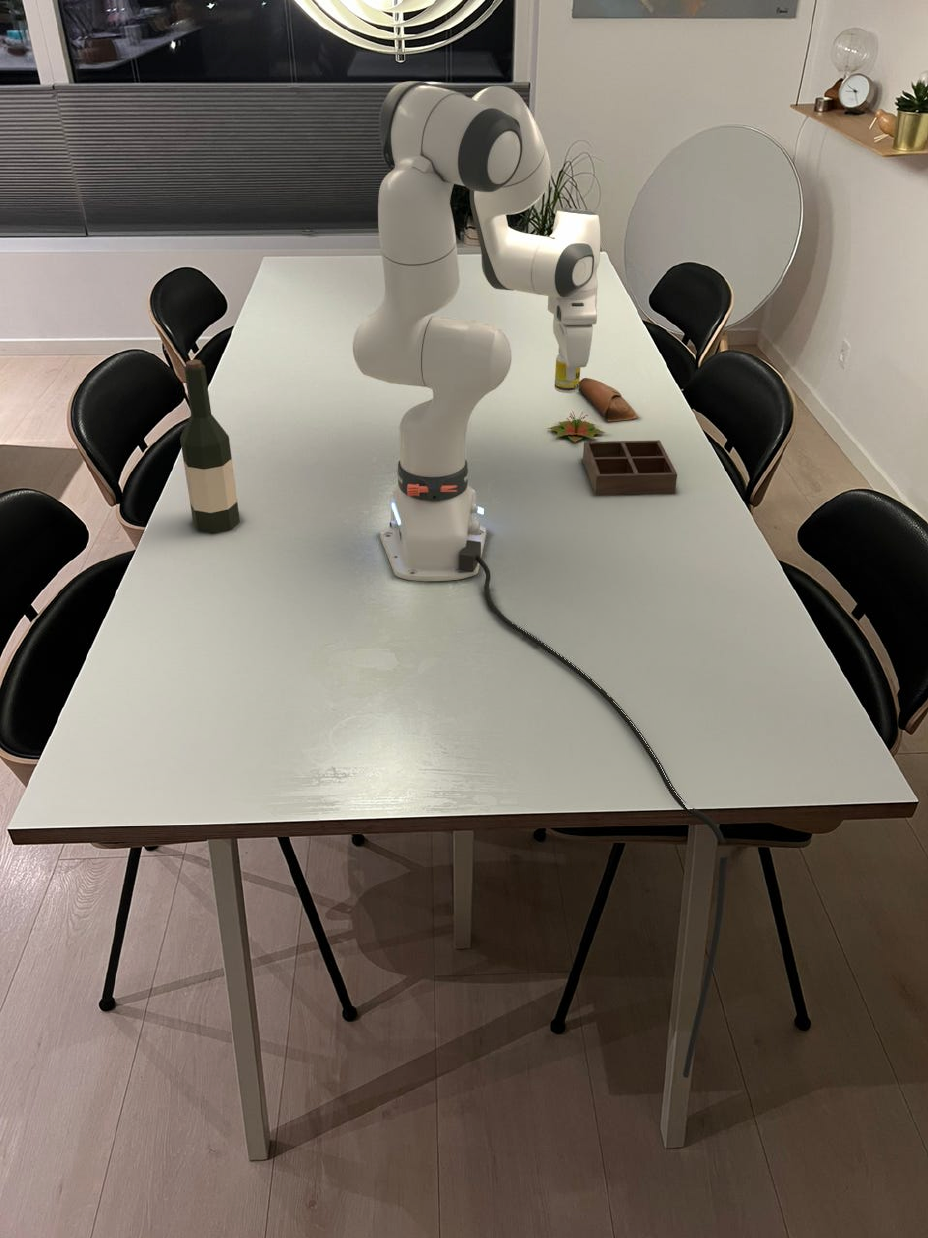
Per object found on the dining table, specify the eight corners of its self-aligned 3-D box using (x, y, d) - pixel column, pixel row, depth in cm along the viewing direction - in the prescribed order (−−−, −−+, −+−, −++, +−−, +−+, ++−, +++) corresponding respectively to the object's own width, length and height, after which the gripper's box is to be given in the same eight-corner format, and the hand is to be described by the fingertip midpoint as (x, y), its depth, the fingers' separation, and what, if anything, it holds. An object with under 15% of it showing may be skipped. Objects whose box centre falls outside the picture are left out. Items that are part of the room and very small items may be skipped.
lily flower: (578, 417, 230) (579, 397, 227) (616, 435, 222) (618, 415, 219) (536, 430, 224) (537, 410, 221) (573, 449, 216) (575, 429, 213)
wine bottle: (196, 512, 192) (172, 353, 175) (242, 510, 193) (222, 352, 176) (189, 534, 185) (163, 371, 169) (237, 533, 186) (216, 370, 169)
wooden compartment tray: (675, 493, 200) (677, 474, 197) (595, 495, 199) (596, 475, 197) (657, 458, 212) (659, 440, 210) (582, 460, 212) (584, 441, 209)
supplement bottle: (577, 394, 198) (580, 351, 193) (552, 392, 199) (555, 349, 194) (580, 385, 202) (583, 342, 197) (555, 383, 203) (558, 341, 198)
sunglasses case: (641, 416, 229) (629, 393, 225) (614, 434, 230) (601, 411, 226) (610, 387, 243) (598, 364, 240) (585, 404, 244) (572, 382, 240)
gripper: (547, 284, 199) (543, 354, 207) (563, 318, 182) (558, 393, 190) (580, 283, 200) (575, 353, 207) (599, 318, 183) (593, 393, 191)
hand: (567, 373), depth 199 cm, fingers closed on supplement bottle, 5 cm apart
